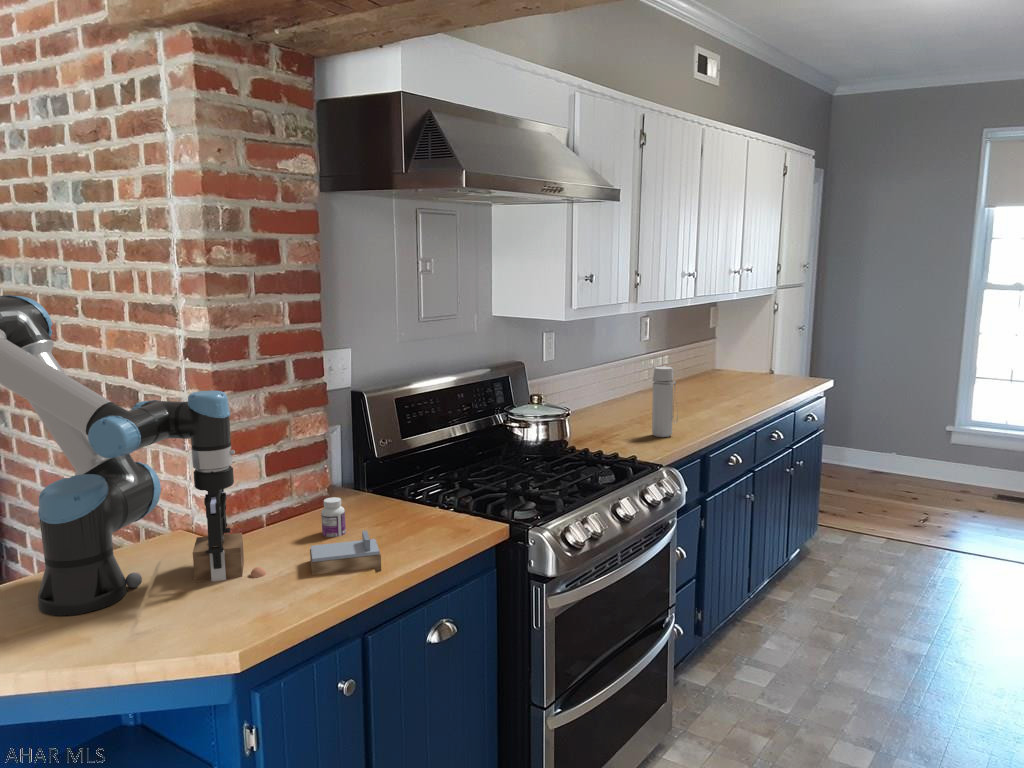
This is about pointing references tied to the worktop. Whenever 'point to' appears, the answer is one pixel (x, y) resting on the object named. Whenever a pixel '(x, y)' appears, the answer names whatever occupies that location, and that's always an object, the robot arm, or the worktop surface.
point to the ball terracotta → (258, 572)
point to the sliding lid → (345, 549)
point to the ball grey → (133, 580)
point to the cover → (231, 552)
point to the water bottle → (663, 402)
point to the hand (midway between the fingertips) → (220, 573)
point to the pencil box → (346, 564)
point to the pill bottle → (333, 518)
